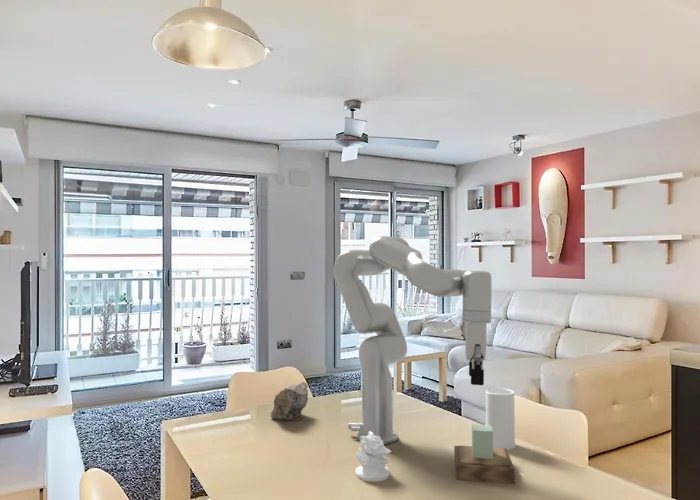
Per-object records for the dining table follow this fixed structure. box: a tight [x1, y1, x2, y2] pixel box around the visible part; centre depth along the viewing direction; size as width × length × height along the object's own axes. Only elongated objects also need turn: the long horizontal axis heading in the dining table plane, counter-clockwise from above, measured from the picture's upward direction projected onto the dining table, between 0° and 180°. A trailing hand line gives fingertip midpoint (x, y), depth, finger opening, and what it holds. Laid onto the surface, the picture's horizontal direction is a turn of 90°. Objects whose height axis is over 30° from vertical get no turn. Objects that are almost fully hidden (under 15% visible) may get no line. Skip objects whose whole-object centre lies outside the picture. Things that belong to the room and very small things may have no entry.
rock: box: [270, 381, 309, 421], centre depth 177 cm, size 16×10×15 cm, turn 157°
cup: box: [485, 387, 516, 451], centre depth 150 cm, size 8×8×16 cm
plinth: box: [453, 444, 516, 484], centre depth 131 cm, size 14×14×4 cm
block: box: [471, 424, 493, 459], centre depth 131 cm, size 5×5×7 cm
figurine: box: [354, 431, 392, 483], centre depth 129 cm, size 12×9×10 cm
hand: (476, 380), depth 134 cm, fingers open, 9 cm apart
